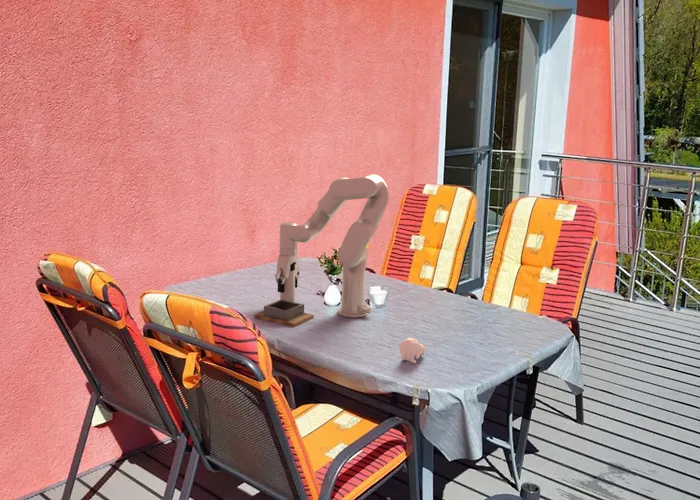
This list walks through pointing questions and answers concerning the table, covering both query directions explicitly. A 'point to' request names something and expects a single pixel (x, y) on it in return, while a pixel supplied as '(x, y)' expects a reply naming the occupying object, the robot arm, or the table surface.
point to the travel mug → (289, 286)
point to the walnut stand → (292, 322)
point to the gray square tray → (283, 310)
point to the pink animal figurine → (411, 349)
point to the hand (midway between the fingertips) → (287, 289)
